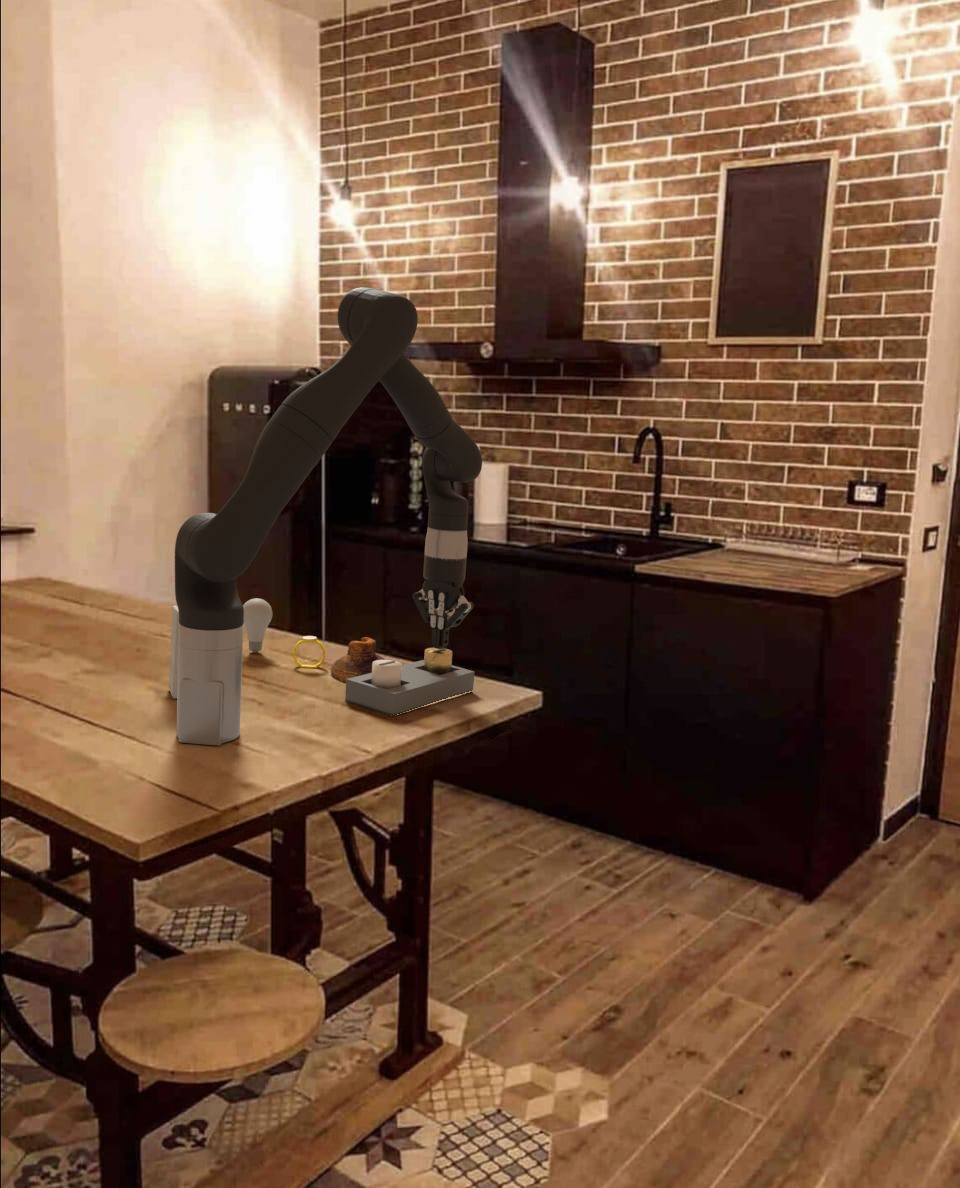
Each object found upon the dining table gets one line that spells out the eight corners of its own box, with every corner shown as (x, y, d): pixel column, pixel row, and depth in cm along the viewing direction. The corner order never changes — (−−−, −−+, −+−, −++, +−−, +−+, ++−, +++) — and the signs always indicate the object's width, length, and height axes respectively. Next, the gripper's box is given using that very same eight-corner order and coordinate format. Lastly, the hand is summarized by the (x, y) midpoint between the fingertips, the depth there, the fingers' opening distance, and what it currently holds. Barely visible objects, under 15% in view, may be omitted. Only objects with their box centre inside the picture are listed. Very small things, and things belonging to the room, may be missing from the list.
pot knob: (386, 692, 169) (388, 668, 169) (365, 685, 172) (366, 661, 171) (406, 686, 173) (407, 663, 173) (384, 680, 176) (386, 657, 175)
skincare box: (172, 699, 167) (174, 612, 164) (168, 689, 173) (169, 604, 170) (223, 697, 171) (226, 611, 168) (218, 687, 176) (220, 603, 173)
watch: (293, 669, 191) (292, 639, 190) (294, 666, 194) (293, 635, 193) (325, 669, 192) (324, 638, 191) (325, 665, 195) (324, 635, 194)
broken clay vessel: (355, 688, 182) (357, 649, 181) (318, 672, 191) (320, 635, 189) (406, 680, 190) (408, 643, 189) (368, 665, 198) (370, 629, 197)
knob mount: (393, 717, 167) (394, 693, 166) (345, 701, 173) (346, 679, 173) (472, 692, 185) (474, 671, 184) (426, 679, 191) (428, 658, 190)
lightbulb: (267, 657, 197) (269, 602, 195) (236, 655, 197) (237, 600, 195) (273, 650, 203) (276, 596, 201) (243, 647, 203) (245, 594, 201)
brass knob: (439, 677, 181) (440, 655, 180) (417, 671, 183) (419, 649, 183) (456, 672, 185) (457, 651, 184) (435, 667, 187) (436, 645, 187)
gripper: (488, 557, 179) (480, 652, 182) (430, 546, 187) (424, 637, 190) (462, 561, 173) (455, 658, 176) (403, 549, 181) (398, 643, 184)
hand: (439, 647), depth 183 cm, fingers closed
